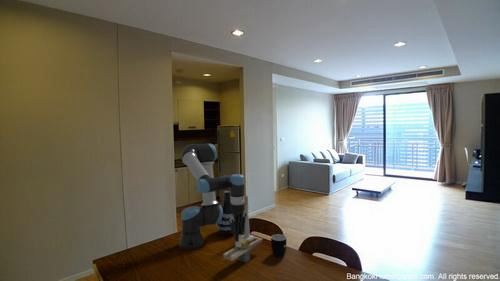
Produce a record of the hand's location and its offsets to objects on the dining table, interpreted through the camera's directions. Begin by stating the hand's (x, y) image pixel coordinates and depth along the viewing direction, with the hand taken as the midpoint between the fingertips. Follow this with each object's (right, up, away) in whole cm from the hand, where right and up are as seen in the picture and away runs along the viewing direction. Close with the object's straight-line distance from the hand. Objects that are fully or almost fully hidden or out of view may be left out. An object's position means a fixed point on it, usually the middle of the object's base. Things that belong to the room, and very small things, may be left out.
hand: (238, 246), depth 141 cm
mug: (+24, -9, +11) cm, 28 cm away
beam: (+3, -9, +4) cm, 11 cm away
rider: (+3, -3, +3) cm, 5 cm away
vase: (-9, -8, +44) cm, 46 cm away
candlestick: (+4, -9, +31) cm, 32 cm away
